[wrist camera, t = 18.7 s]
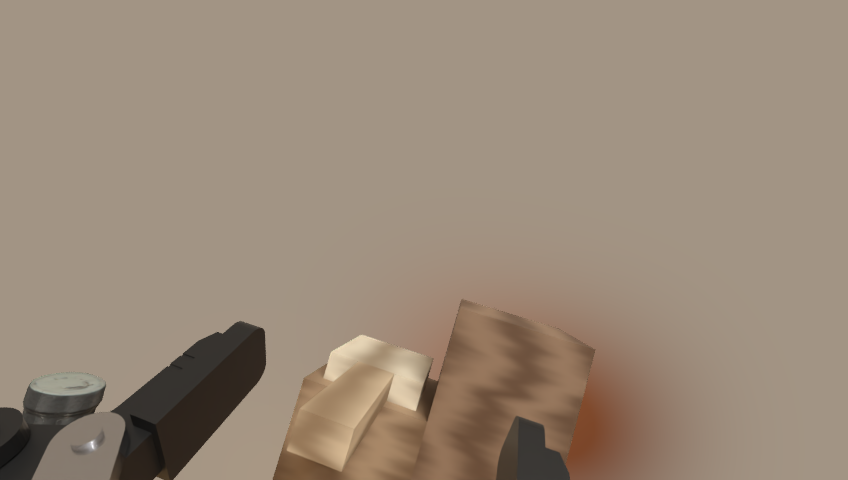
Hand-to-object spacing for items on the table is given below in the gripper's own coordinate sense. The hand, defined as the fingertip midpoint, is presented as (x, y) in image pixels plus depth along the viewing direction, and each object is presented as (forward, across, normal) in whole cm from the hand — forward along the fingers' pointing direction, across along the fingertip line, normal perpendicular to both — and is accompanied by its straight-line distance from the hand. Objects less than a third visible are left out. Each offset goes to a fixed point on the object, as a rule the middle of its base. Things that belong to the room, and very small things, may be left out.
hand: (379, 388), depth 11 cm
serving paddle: (+14, +4, +19) cm, 24 cm away
